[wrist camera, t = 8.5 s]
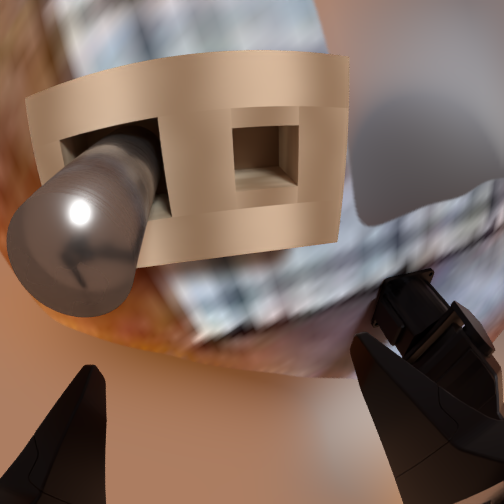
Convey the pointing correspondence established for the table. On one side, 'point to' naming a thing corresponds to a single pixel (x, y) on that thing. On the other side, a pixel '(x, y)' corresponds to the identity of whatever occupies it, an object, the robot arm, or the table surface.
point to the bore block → (216, 146)
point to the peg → (88, 225)
